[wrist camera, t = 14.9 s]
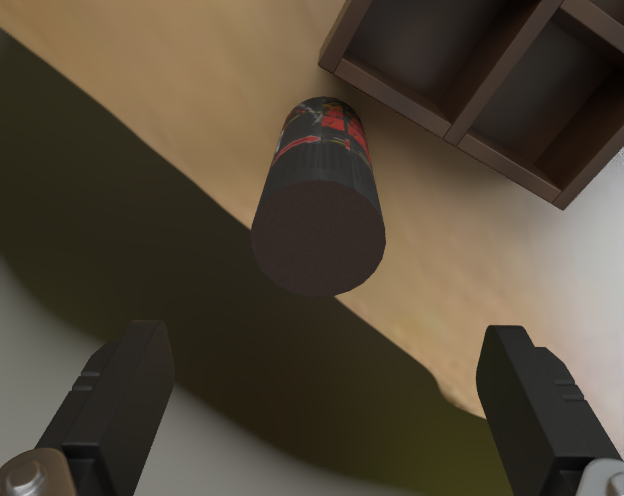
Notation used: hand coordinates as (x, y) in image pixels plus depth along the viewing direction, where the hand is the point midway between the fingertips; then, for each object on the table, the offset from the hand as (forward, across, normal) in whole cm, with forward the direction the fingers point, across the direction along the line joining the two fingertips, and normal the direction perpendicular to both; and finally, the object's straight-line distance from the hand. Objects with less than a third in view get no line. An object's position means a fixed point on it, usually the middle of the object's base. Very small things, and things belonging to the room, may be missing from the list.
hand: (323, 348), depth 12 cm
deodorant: (+24, 0, +2) cm, 24 cm away
